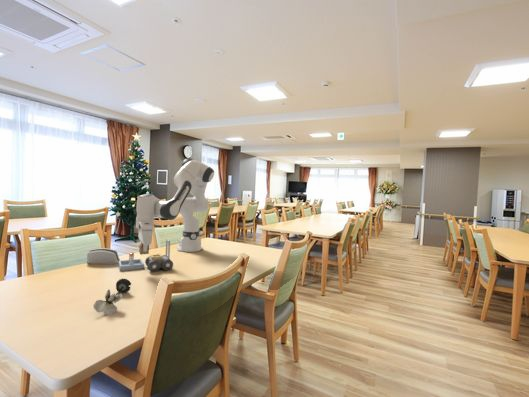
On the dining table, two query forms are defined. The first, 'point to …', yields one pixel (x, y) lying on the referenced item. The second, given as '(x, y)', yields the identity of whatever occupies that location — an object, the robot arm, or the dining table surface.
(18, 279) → the dining table surface
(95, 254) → the grey curved block
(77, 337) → the dining table surface
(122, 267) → the tray
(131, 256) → the pin
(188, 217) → the robot arm
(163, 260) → the trolley
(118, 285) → the artificial flower
